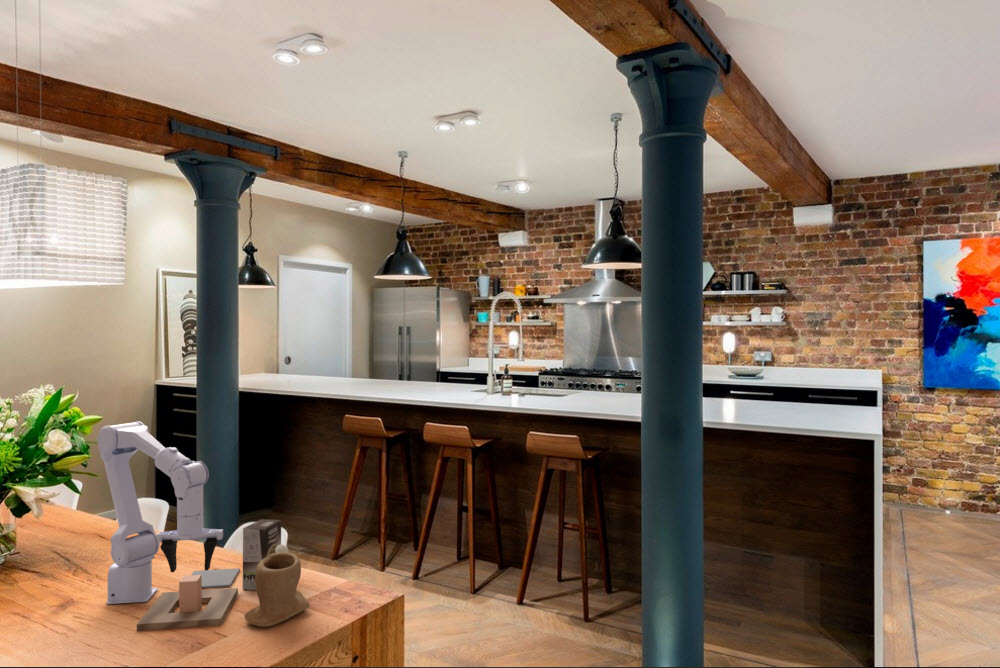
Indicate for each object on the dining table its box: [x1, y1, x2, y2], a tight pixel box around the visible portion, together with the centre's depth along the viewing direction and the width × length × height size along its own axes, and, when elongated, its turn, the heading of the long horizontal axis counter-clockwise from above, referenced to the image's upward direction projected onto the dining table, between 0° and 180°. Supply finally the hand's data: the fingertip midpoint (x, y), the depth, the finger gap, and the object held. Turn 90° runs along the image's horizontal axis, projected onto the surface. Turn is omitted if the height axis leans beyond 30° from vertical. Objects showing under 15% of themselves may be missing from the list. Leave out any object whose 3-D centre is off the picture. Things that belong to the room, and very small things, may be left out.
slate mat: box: [191, 567, 241, 589], centre depth 181 cm, size 12×12×1 cm
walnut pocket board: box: [136, 587, 239, 632], centre depth 161 cm, size 18×18×2 cm
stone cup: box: [244, 552, 310, 628], centre depth 158 cm, size 15×12×15 cm
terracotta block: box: [178, 574, 203, 612], centre depth 161 cm, size 4×4×8 cm
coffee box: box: [242, 518, 282, 591], centre depth 178 cm, size 9×6×16 cm
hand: (190, 569), depth 161 cm, fingers open, 7 cm apart
